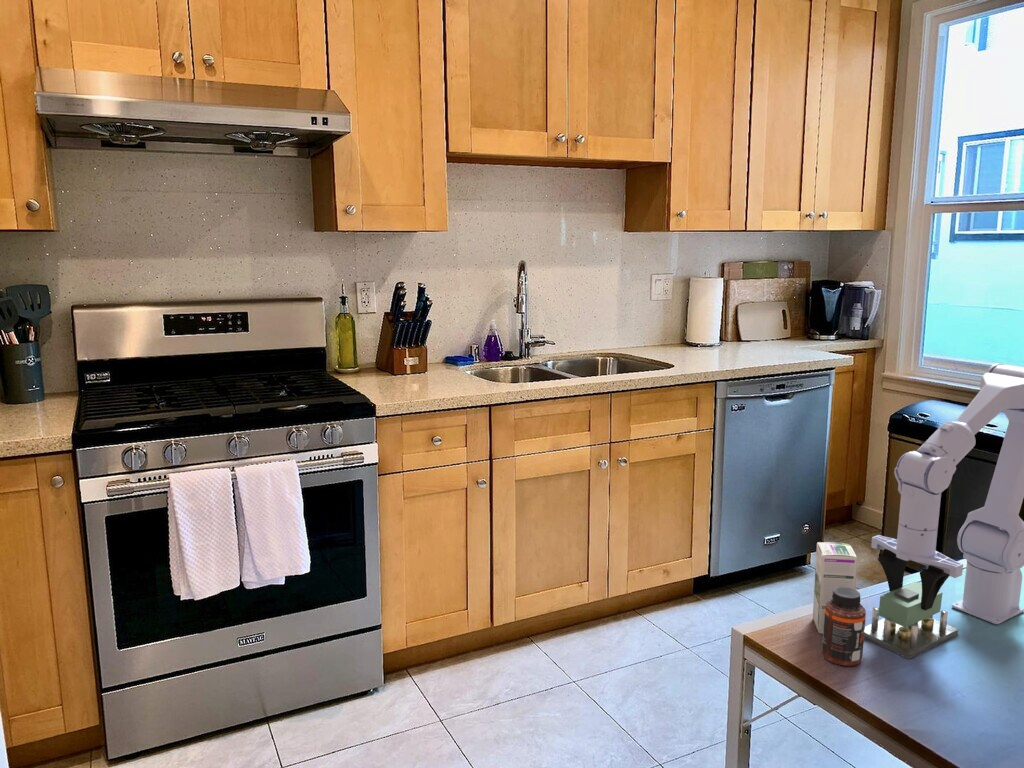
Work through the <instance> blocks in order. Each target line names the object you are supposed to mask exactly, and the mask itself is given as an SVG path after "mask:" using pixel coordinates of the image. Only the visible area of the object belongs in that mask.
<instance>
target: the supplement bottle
mask: <svg viewBox="0 0 1024 768" xmlns="http://www.w3.org/2000/svg"><path fill="white" fill-rule="evenodd" d="M832 598H833V599H831V600H829V601H828V602H827V603H826V606H825V617H824V631H823V634H822V636H823V637H822V655H823V657H824V658H825V659H826V660H828V661H829V662H831V663H833V664H835V665H839V666H843V667H853V666H857V665H860V663H861V662H862V660H863V656H864V655H863V653H864V642H865V638H864V630H865V626H866V618H867V617H866V615H867V614H866V613H867V611H866V609H865V607H864V606H863V605H862V603H861V592H859V591H858V590H855V589H852V588H848V587H837V588H835V589H834V590H833V595H832Z"/></svg>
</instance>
